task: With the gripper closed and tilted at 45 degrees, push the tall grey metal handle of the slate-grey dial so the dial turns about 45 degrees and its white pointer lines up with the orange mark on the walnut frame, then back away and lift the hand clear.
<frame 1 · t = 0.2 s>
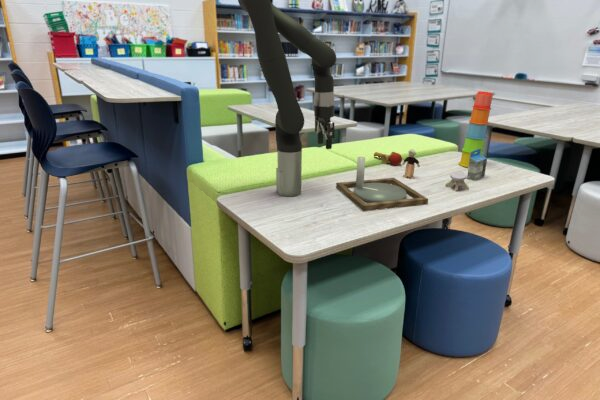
hand: (324, 146, 165), 18 cm above the table, tool pointing down, fingers open, 8 cm apart
dial: (381, 178, 163), point 7 cm above the table, hinge at 0.0°
toy table: (456, 188, 175), on the table
dial frame: (379, 195, 166), on the table
grandmother figurine: (409, 177, 187), on the table
stacking cups: (469, 165, 206), on the table
label tape box: (475, 178, 188), on the table
kendama: (386, 162, 210), on the table
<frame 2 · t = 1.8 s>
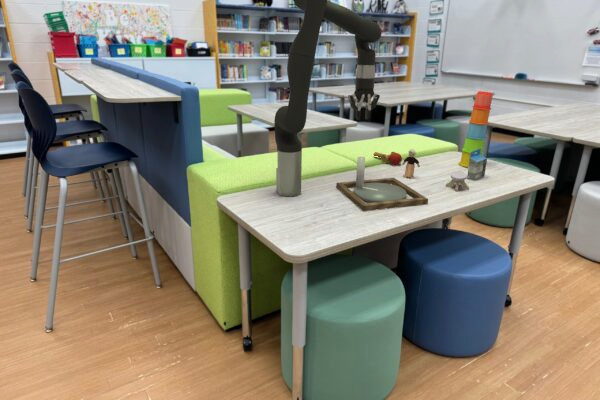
hand: (362, 119, 178), 25 cm above the table, tool pointing down, fingers open, 3 cm apart
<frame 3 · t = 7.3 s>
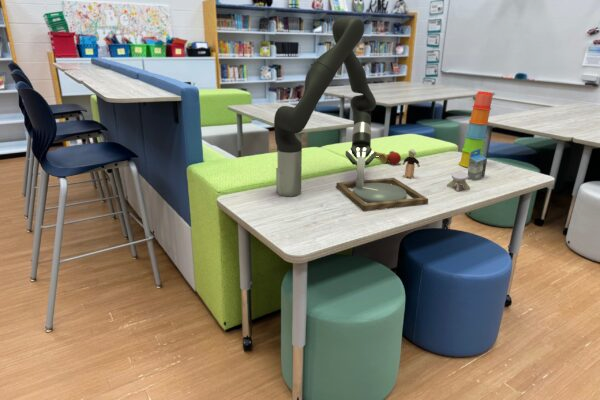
hand: (360, 173, 169), 7 cm above the table, tool tilted 45°, fingers closed
dial: (381, 178, 163), point 7 cm above the table, hinge at 0.4°, touching gripper
kendama: (385, 161, 211), on the table
everything else where it was.
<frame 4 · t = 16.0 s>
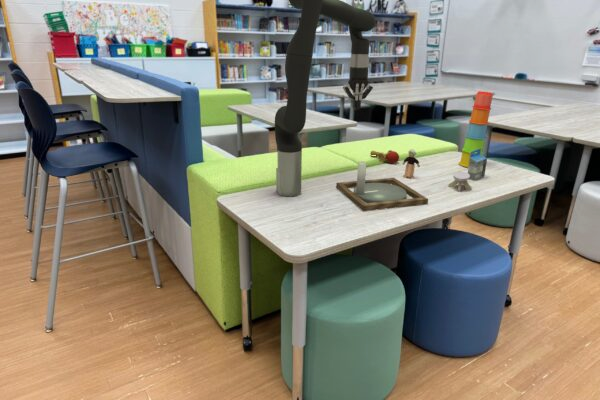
hand: (356, 109, 178), 29 cm above the table, tool pointing down, fingers closed
dial: (381, 178, 163), point 7 cm above the table, hinge at 49.0°
kendama: (383, 160, 213), on the table
at the end: dial at +49° (first picture: +0°); kendama moved 3.1 cm from its start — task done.
